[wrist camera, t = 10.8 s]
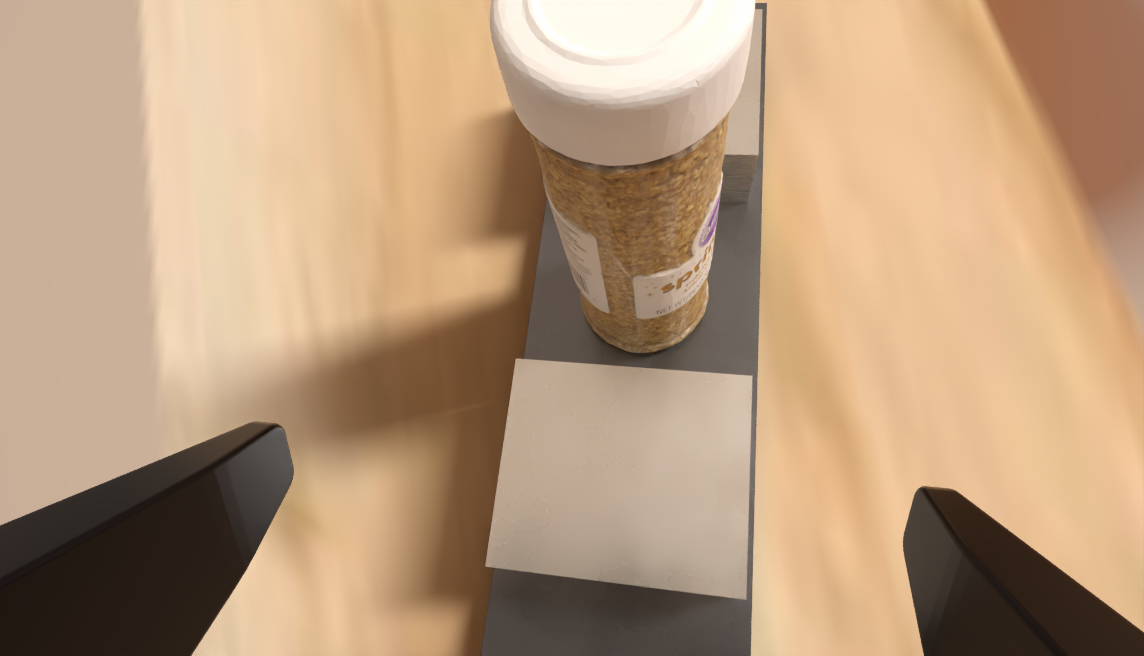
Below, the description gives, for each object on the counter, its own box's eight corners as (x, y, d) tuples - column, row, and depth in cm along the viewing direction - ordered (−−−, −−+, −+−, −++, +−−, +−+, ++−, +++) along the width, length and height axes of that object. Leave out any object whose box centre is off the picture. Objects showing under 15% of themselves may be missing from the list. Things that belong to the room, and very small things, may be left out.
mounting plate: (744, 712, 20) (763, 749, 16) (487, 672, 21) (446, 697, 17) (762, 25, 28) (778, -62, 24) (577, 27, 29) (564, -56, 25)
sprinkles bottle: (708, 358, 22) (763, 96, 10) (575, 353, 23) (466, 103, 10) (708, 236, 24) (757, -126, 11) (583, 236, 25) (498, -106, 12)
